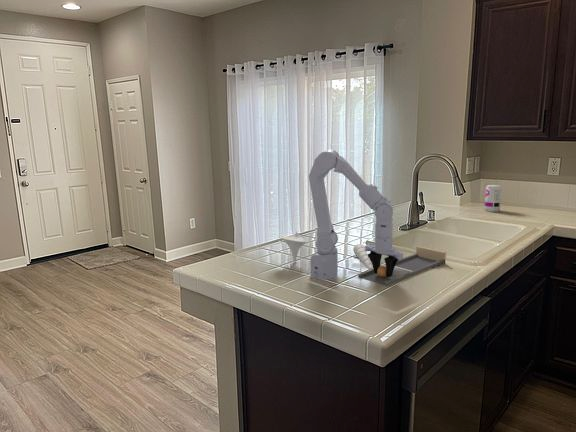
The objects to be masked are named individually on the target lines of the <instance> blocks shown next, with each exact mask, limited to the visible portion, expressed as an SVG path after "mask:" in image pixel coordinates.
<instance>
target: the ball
mask: <svg viewBox="0 0 576 432" xmlns="http://www.w3.org/2000/svg"><path fill="white" fill-rule="evenodd" d="M377 273H378V275H379V276H380V277H386V266H380V267H379V268H378V270H377Z"/></svg>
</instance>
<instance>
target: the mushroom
mask: <svg viewBox="0 0 576 432" xmlns="http://www.w3.org/2000/svg"><path fill="white" fill-rule="evenodd" d="M280 239H281V240H282V241H283V242H284V243H285V244H286V245H287V246H288V247H289V250H290V252H291V255H292V259H293V261H294V263H296V262H297V256H298V253H299V250H300V249H301V248H302V246H303V245H305V244H307V243H308V240H307V239H305V238H304V237H302V236H301V235H300V234H299V233H298V231H296V232H295V233H294V234H293V235H288V236H280Z"/></svg>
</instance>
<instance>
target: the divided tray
mask: <svg viewBox="0 0 576 432" xmlns="http://www.w3.org/2000/svg"><path fill="white" fill-rule="evenodd" d="M415 249H416V251H415V253H414V254H413V253H412V254H411V255H408V256H405V257H403V258H402V259H400V260H398V261H397V263H396V265H395V267H394V270H393V274H392V276H391V277H387V276H386V277H380V276H379V275H378V273H377V274H375V273H374V269H372V270H370V269H369V270H366V271H363V272H361V273H357V274H358V278H360V279H363V280H365V281H366V280H367V281H370V282H373V283H376V284H379V285H383V286H385V287H386V286H390V285H393V284H395V283H397V282H400V281H401V280H402V281H403V280H404V279H407V278H410V277H412V276H414V275H418V274H419V273H422V272H424V271H427V270H430V269H435V268H437V267H440V266H442V265H445V264H446V257H447V256H446V255H447V252H446V251H443V250H437V249H433V248H429V247H423V246H419V245H418V246H416V248H415ZM380 266H386V263H385V264H383V263H382V264H380Z"/></svg>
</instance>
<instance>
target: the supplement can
mask: <svg viewBox="0 0 576 432" xmlns="http://www.w3.org/2000/svg"><path fill="white" fill-rule="evenodd" d="M484 192H485V196H484V207H483V208H484V210H485V211H486V212H489V213H498V212H499V211H500V209H501V197H502V187H501V185H500V184H499V185H498V184H487V185H486V187H485V191H484Z"/></svg>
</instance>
